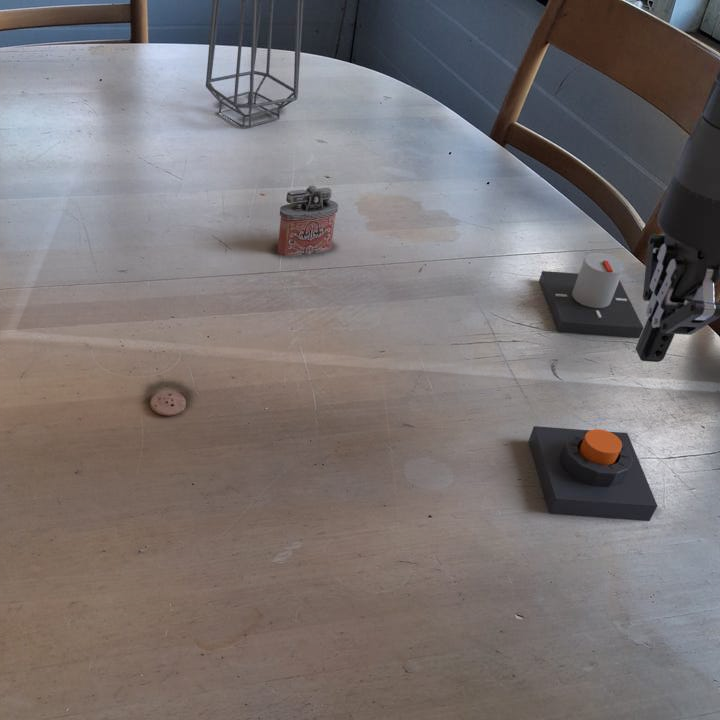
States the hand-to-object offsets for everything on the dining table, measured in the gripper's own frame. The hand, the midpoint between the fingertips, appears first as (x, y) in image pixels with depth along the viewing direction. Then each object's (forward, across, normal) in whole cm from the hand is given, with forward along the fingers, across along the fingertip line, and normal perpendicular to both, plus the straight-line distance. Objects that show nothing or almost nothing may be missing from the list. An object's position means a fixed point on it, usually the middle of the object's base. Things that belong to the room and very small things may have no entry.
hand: (648, 356), depth 84 cm
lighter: (+15, +40, +30) cm, 52 cm away
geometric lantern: (+15, +87, +39) cm, 96 cm away
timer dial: (+12, +30, -6) cm, 33 cm away
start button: (+11, -1, +1) cm, 11 cm away
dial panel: (+15, +30, -6) cm, 34 cm away
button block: (+15, -1, +1) cm, 15 cm away
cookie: (+14, +6, +45) cm, 48 cm away
